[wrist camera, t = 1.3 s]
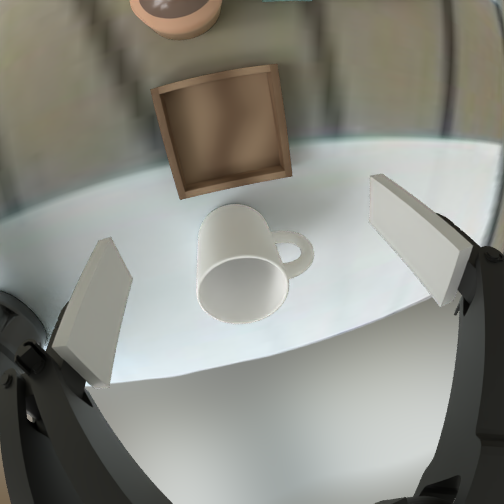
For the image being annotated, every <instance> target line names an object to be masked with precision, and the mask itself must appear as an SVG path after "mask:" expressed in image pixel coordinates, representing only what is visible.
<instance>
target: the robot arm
mask: <svg viewBox="0 0 504 504" xmlns="http://www.w3.org/2000/svg"><path fill="white" fill-rule="evenodd" d="M369 223H370V225H371V226H372V227H373V228H374V229H375V230H376V231H377V232H378V233H379V234H380V235H381V236H382V237H383V239H384V240H385V241H386V242H387V243H388V244H389V245H390V246H391V248H392V249H393V250H394V251H395V252H396V253H397V254H398V256H399V257H400V258H401V259H402V260H403V261H404V262H405V264H406V265H407V266H408V267H409V268H410V270H411V271H412V272H413V273H414V274H415V276H416V277H417V278H418V279H419V281H420V282H421V283H422V284H423V286H424V287H425V288H426V289H427V291H428V292H429V293H430V294H431V296H432V297H433V298H434V300H435V301H436V302H437V304H438V305H439V306H440V307H442V306H444V305H446V304H448V303H450V302H452V301H453V300H454V298H455V295H456V293H457V290H458V291H459V292H460V293H461V294H462V297H461V299H460V301H459V304H458V306H457V308H456V310H455V313H454V315H457V313H458V311H459V310H460V312H459V331H458V344H457V354H456V362H455V370H454V377H453V383H452V389H451V394H450V399H449V404H448V408H447V413H446V417H445V421H444V425H443V429H442V433H441V436H440V440H439V443H438V446H437V450H436V453H435V456H434V458H433V460H432V462H431V463H430V464H429V466H428V467H427V469H426V470H425V472H424V473H423V475H422V478H421V480H420V483H419V485H418V487H417V489H416V492H415V494H414V496H413V497H408V498H406V497H404V498H398V499H391V500H383V501H380V502H377V503H375V504H504V256H503V254H502V253H501V252H500V251H498V250H497V249H495V248H493V247H490V246H484V247H480V246H479V245H478V244H476V243H475V242H474V241H473V240H472V239H471V238H470V237H469V236H468V235H467V234H465V233H464V232H463V231H462V230H460V228H458V227H457V226H456V225H454V223H453V222H451V221H450V220H449V219H448V218H446V217H444V216H442V215H440V214H438V213H435V212H433V211H432V210H431V209H430V208H428V207H427V206H426V205H425V204H423V203H422V202H421V201H419V200H418V199H417V198H415V197H414V196H413V195H411V194H410V193H409V192H407V191H406V190H405V189H403V188H402V187H401V186H399V185H398V184H396V183H395V182H393V181H392V180H391V179H389V178H388V177H386V176H385V175H383V174H379V175H372V176H370V206H369ZM132 280H133V278H132V277H131V275H130V273H129V271H128V269H127V267H126V265H125V264H124V262H123V260H122V258H121V256H120V254H119V252H118V250H117V248H116V246H115V244H114V242H113V240H112V238H111V237H109V238H106V239H103V240H99V241H98V243H97V245H96V247H95V249H94V251H93V252H92V254H91V256H90V258H89V260H88V262H87V264H86V266H85V268H84V270H83V272H82V275H81V277H80V279H79V281H78V283H77V285H76V287H75V290H74V292H73V294H72V296H71V299H70V301H68V302H67V304H66V305H65V306H64V308H63V309H62V310H61V313H60V315H59V318H58V321H57V323H56V325H55V329H54V330H53V333H52V335H51V338H50V341H49V344H48V346H47V349H46V351H45V350H44V349H43V347H44V345H45V342H46V338H47V337H46V332H45V329H44V327H43V325H42V323H41V322H40V320H39V319H38V318H37V316H36V315H35V314H34V313H33V312H32V311H31V310H30V309H29V308H28V307H27V306H26V305H25V304H23V303H22V302H21V301H19V300H18V299H16V298H15V297H13V296H11V295H9V294H7V293H5V292H1V291H0V444H1V453H2V460H3V467H4V472H5V478H6V484H7V488H8V493H9V497H10V501H11V504H172V502H171V501H170V500H169V499H168V498H167V497H166V496H165V495H164V494H163V493H162V492H161V491H160V490H159V489H158V488H157V487H156V486H155V484H154V483H153V482H152V481H151V480H150V479H149V477H148V476H147V475H146V474H145V473H144V472H143V470H142V469H141V468H140V467H139V466H138V464H137V463H136V462H135V460H134V459H133V458H132V456H131V455H130V454H129V453H128V451H127V450H126V449H125V447H124V446H123V444H122V443H121V442H120V440H119V439H118V437H117V436H116V435H115V433H114V432H113V430H112V429H111V427H110V426H109V424H108V423H107V421H106V420H105V418H104V417H103V415H102V413H101V412H100V410H99V409H98V407H97V405H96V403H95V402H94V400H93V398H92V397H91V395H90V393H89V392H88V391H87V390H86V389H85V383H86V381H87V382H88V383H89V384H90V385H91V386H92V387H93V388H109V386H110V380H111V374H112V368H113V362H114V357H115V352H116V347H117V342H118V337H119V332H120V328H121V323H122V319H123V315H124V311H125V307H126V303H127V299H128V295H129V291H130V287H131V283H132ZM26 413H27V414H29V415H30V416H31V417H32V418H33V422H30V421H29V420H28V419H27V414H26ZM454 500H455V501H454ZM453 502H454V503H453Z"/></svg>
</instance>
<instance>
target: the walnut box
mask: <svg viewBox="0 0 504 504" xmlns="http://www.w3.org/2000/svg"><path fill="white" fill-rule="evenodd" d="M150 90H151V95H152V99H153V103H154V107H155V111H156V115H157V119H158V123H159V127H160V131H161V135H162V138H163V142H164V146H165V149H166V153H167V157H168V160H169V164H170V167H171V171H172V174H173V178H174V181H175V185H176V188H177V191H178V195H179V198H180V200H182V199H186V198H190V197H194V196H198V195H203V194H207V193H211V192H216V191H220V190H225V189H229V188H234V187H239V186H244V185H249V184H254V183H259V182H264V181H269V180H274V179H280V178H285V177H291V176H292V168H291V159H290V151H289V142H288V134H287V127H286V119H285V112H284V105H283V98H282V91H281V85H280V78H279V72H278V66H277V64H270V65H261V66H254V67H247V68H240V69H234V70H228V71H223V72H217V73H212V74H208V75H203V76H198V77H194V78H190V79H186V80H182V81H178V82H174V83H171V84H167V85H164V86H160V87H157V88H154V89H150Z"/></svg>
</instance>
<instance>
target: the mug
mask: <svg viewBox="0 0 504 504" xmlns="http://www.w3.org/2000/svg"><path fill="white" fill-rule="evenodd" d="M278 243H291V244H294V245H296V246H297V247H299V248H300V250H301V256H300V257H299V258H298V259H296V260H294V261H292V262H288V263H282V261H281V258H280V255H279V252H278V250H277V247H276V244H278ZM313 259H314V249H313V246H312V244H311V243H310V241H309V240H308V239H307V238H306V237H304V236H303V235H301V234H299V233H296V232H292V231H273V232H271V231H270V229H269V227H268V225H267V223H266V221H265V219H264V218H263V216H262V215H261V214H260V213H259V212H258V211H256V210H255V209H253V208H251V207H249V206H246V205H241V204H229V205H225V206H222V207H219V208H217V209H215V210H214V211H212V212H211V213H210V214H208V215H207V217H206V218H205V219H204V221H203V222H202V224H201V226H200V229H199V234H198V248H197V283H196V294H197V300H198V302H199V304H200V306H201V308H202V309H203V310H204V311H205V312H206V313H207V314H208V315H209V316H211V317H212V318H214V319H216V320H219V321H221V322H225V323H231V324H246V323H252V322H256V321H259V320H261V319H264V318H266V317H268V316H270V315H271V314H273V313H274V312H275V311H276V310H278V309H279V308H280V307H281V305H282V304H283V303H284V301H285V299H286V297H287V295H288V291H289V280H288V279H291V278H294V277H296V276H298V275H300V274H302V273H303V272H305V271H306V270H307V269H308V268H309V267H310V265H311V264H312V262H313Z"/></svg>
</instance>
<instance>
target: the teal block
mask: <svg viewBox="0 0 504 504" xmlns="http://www.w3.org/2000/svg"><path fill="white" fill-rule="evenodd" d="M273 1H312V0H262V2H273Z"/></svg>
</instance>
